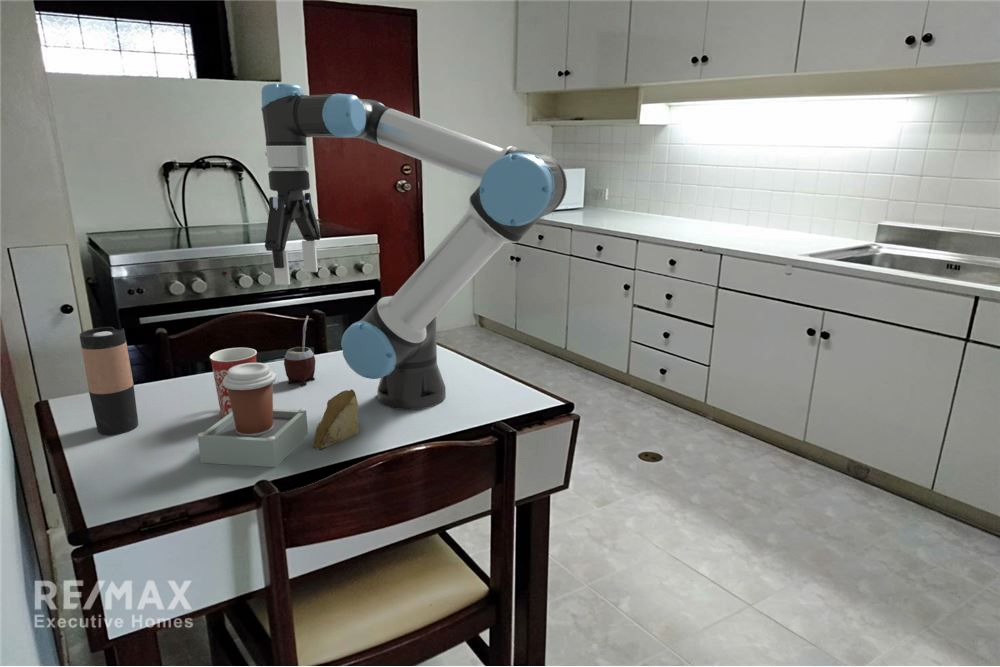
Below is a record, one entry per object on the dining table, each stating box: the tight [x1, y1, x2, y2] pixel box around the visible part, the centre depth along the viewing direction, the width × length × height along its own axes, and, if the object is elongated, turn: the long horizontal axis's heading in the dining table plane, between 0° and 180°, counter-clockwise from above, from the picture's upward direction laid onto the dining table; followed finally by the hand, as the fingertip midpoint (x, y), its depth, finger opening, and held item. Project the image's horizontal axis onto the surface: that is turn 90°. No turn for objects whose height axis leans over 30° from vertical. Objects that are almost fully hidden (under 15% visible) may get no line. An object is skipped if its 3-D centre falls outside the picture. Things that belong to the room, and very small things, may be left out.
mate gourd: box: [283, 315, 316, 387], centre depth 156 cm, size 8×8×15 cm
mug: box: [209, 347, 258, 419], centre depth 138 cm, size 13×9×14 cm
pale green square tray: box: [197, 407, 309, 468], centre depth 122 cm, size 14×14×5 cm
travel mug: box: [79, 326, 139, 436], centre depth 129 cm, size 8×8×20 cm
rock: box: [311, 389, 360, 450], centre depth 126 cm, size 11×9×10 cm
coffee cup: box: [222, 362, 277, 437], centre depth 120 cm, size 9×9×12 cm
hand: (297, 277), depth 133 cm, fingers open, 13 cm apart
